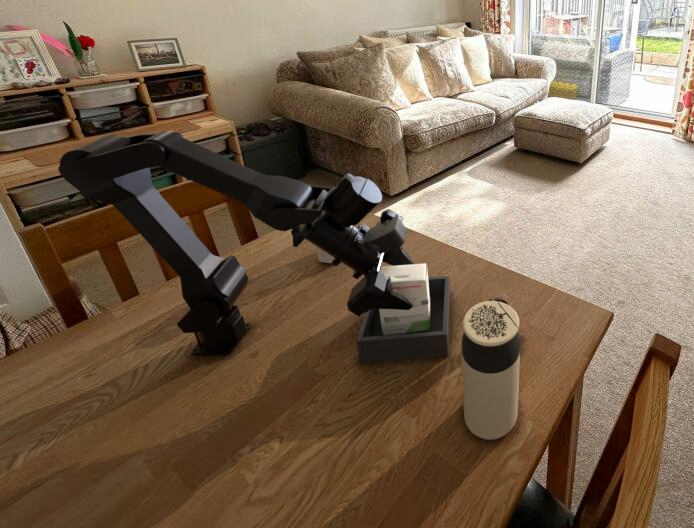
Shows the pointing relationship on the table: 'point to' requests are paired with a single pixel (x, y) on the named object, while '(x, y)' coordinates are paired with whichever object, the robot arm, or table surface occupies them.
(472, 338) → the travel mug
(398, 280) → the ink box
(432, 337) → the open storage tray
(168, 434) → the table surface
